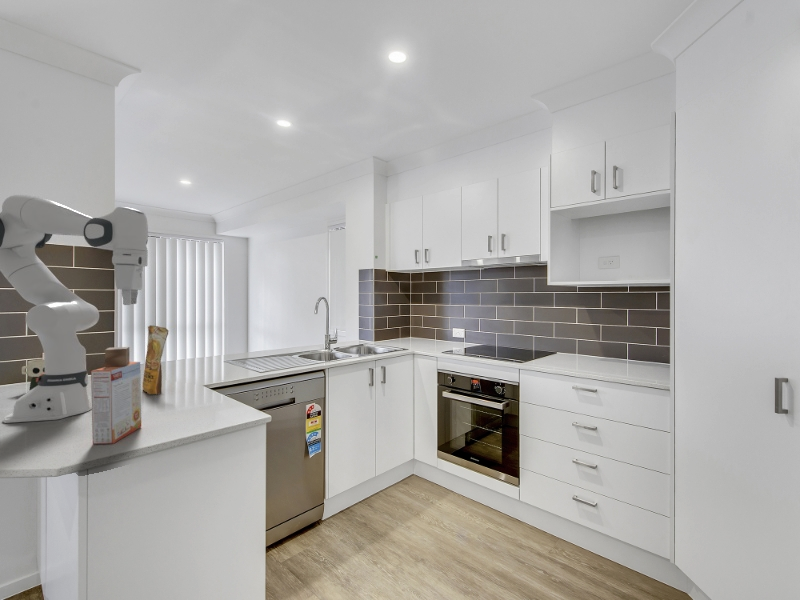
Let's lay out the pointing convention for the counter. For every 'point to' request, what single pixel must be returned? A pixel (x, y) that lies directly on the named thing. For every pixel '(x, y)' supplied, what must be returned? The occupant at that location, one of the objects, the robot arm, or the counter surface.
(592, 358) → the counter surface
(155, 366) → the pancake mix bag
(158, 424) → the counter surface
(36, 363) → the character mug
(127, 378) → the cracker box
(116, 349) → the walnut cube
